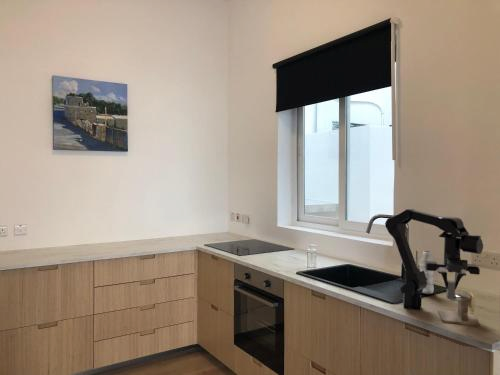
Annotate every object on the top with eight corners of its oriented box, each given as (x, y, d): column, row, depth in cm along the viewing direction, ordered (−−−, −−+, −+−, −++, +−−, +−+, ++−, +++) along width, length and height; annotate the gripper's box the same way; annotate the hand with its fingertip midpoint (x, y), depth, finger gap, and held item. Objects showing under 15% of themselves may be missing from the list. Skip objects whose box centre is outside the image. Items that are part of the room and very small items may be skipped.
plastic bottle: (434, 296, 190) (435, 253, 190) (418, 294, 193) (419, 252, 192) (433, 292, 196) (434, 251, 196) (418, 290, 199) (419, 249, 198)
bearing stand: (442, 322, 157) (443, 296, 156) (438, 312, 168) (438, 288, 168) (480, 326, 153) (481, 300, 153) (473, 316, 164) (474, 291, 164)
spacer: (471, 312, 156) (471, 296, 156) (468, 307, 162) (468, 292, 162) (474, 312, 156) (474, 296, 156) (470, 307, 162) (471, 292, 162)
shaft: (447, 301, 160) (448, 282, 160) (446, 299, 163) (446, 280, 163) (476, 304, 157) (477, 284, 157) (474, 301, 160) (475, 282, 160)
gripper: (428, 251, 156) (427, 292, 156) (483, 255, 150) (482, 297, 151) (425, 246, 166) (424, 284, 167) (477, 250, 161) (475, 289, 161)
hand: (450, 289), depth 161 cm, fingers closed on shaft, 2 cm apart
